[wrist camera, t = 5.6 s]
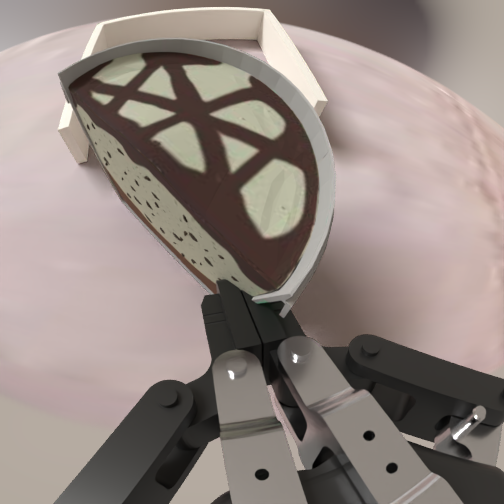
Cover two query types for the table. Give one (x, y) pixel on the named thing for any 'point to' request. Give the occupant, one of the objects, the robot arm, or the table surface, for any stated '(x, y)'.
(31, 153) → the table surface
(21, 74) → the table surface
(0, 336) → the table surface
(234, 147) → the food container
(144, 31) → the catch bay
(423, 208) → the table surface
